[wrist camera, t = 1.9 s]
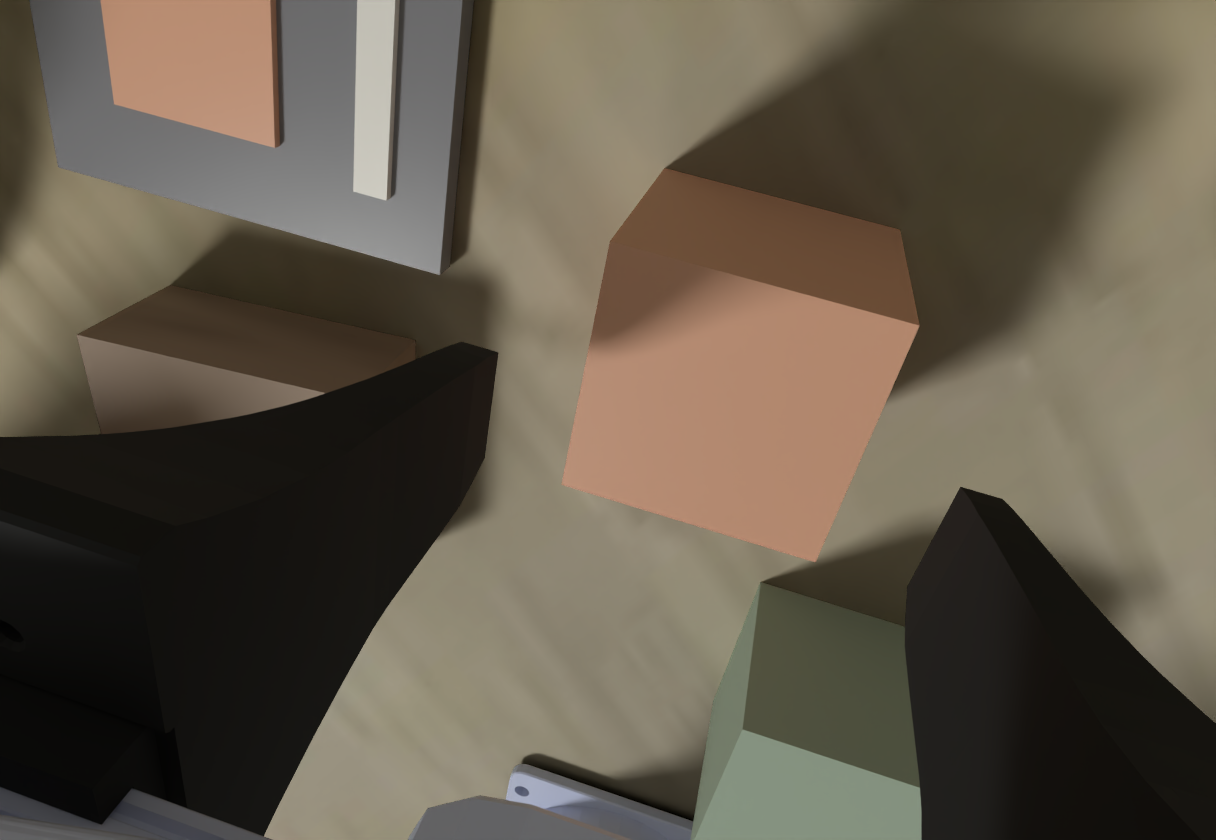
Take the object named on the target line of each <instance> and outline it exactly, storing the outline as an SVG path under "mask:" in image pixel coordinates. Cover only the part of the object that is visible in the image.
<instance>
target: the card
mask: <svg viewBox="0 0 1216 840" xmlns="http://www.w3.org/2000/svg"><path fill="white" fill-rule="evenodd" d="M29 1H30V7H31V13H32V19H33V25H34V30H35V36H36V42H37V48H38V53H39V59H40V65H41V71H42V77H43V82H44V88H45V94H46V100H47V106H48V111H49V117H50V123H51V129H52V134H53V140H54V146H55V152H56V158H57V163H58V167H59V168H63V169H66V170H70V171H74V172H77V173H81V174H84V175H88V176H91V177H95V178H98V179H102V180H105V181H109V182H112V183H116V184H119V185H123V186H127V187H130V188H134V189H137V190H141V191H144V192H148V193H151V194H155V195H158V196H162V197H165V198H169V199H173V200H176V201H180V202H183V203H187V204H190V205H194V206H197V207H201V208H204V209H208V210H211V211H215V212H218V213H222V214H226V215H229V216H233V217H236V218H240V219H243V220H247V221H250V222H254V223H257V224H261V225H264V226H268V227H271V228H275V229H279V230H282V231H286V232H289V233H293V234H296V235H300V236H303V237H307V238H310V239H314V240H317V241H321V242H325V243H328V244H332V245H335V246H339V247H342V248H346V249H349V250H353V251H356V252H360V253H363V254H367V255H370V256H374V257H378V258H381V259H385V260H388V261H392V262H395V263H399V264H402V265H406V266H409V267H413V268H416V269H420V270H423V271H427V272H431V273H434V274H438V275H440V274H441V273H443V272H444V271H445V270H446V269H447V268H449V267H450V259H451V248H452V237H453V226H454V215H455V204H456V193H457V181H458V170H459V159H460V148H461V137H462V126H463V115H464V104H465V92H466V81H467V70H468V59H469V48H470V37H471V26H472V15H473V3H474V0H29Z"/></svg>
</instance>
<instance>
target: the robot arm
mask: <svg viewBox="0 0 1216 840" xmlns="http://www.w3.org/2000/svg"><path fill="white" fill-rule="evenodd" d="M497 358H498V352H495V351H492V350H488V349H485V348H481V347H478V346H475V345H471V344H468V343H464V342H460V343H457V344H453V345H451V346H448V347H445V348H443V349H440V350H438V351H435V352H433V353H430V354H428V355H425V356H423V357H421V358H418V359H416V360H413V361H411V362H409V363H406V364H404V365H401V366H399V367H396V368H394V369H391V370H389V371H386V372H384V373H381V374H379V375H376V376H374V377H371V378H368V379H366V380H363V381H360V382H357V383H354V384H351V385H348V386H345V387H342V388H340V389H337V390H334V391H331V392H328V393H325V394H322V395H319V396H316V397H313V398H310V399H307V400H303V401H300V402H296V403H293V404H289V405H285V406H282V407H277V408H273V409H269V410H265V411H261V412H257V413H252V414H248V415H243V416H238V417H233V418H227V419H221V420H215V421H209V422H203V423H197V424H191V425H185V426H179V427H172V428H164V429H154V430H145V431H136V432H124V433H111V434H98V435H80V436H38V437H0V840H272V839H269V838H266V837H264V834H265V832H266V830H267V828H268V826H269V824H270V822H271V820H272V818H273V815H274V813H275V811H276V809H277V807H278V805H279V803H280V801H281V799H282V797H283V795H284V793H285V791H286V789H287V787H288V785H289V783H290V782H291V780H292V778H293V776H294V774H295V772H296V770H297V768H298V766H299V764H300V762H301V760H302V758H303V756H304V754H305V752H306V750H307V748H308V746H309V744H310V742H311V740H312V738H313V736H314V735H315V733H316V731H317V729H318V727H319V725H320V723H321V722H322V720H323V718H324V716H325V714H326V712H327V710H328V709H329V707H330V705H331V703H332V701H333V699H334V697H335V696H336V694H337V692H338V690H339V688H340V686H341V684H342V683H343V681H344V679H345V677H346V675H347V674H348V672H349V670H350V668H351V667H352V665H353V663H354V661H355V659H356V658H357V656H358V654H359V652H360V651H361V649H362V647H363V645H364V644H365V642H366V640H367V638H368V636H369V635H370V633H371V631H372V629H373V628H374V626H375V625H376V623H377V622H378V620H379V619H380V617H381V616H382V614H383V613H384V611H385V609H386V608H387V606H388V605H389V604H390V602H391V601H392V599H393V598H394V597H395V595H396V594H397V593H398V591H399V590H400V588H401V587H402V586H403V584H404V583H405V581H406V580H407V579H408V577H409V576H410V575H411V573H412V572H413V570H414V569H415V568H416V566H417V565H418V564H419V562H420V561H421V559H422V558H423V557H424V555H425V554H426V552H427V551H428V550H429V548H430V547H431V546H432V544H433V543H434V541H435V540H436V539H437V537H438V536H439V534H440V533H441V532H442V530H443V529H444V527H445V526H446V525H447V523H448V522H449V520H450V519H451V518H452V516H453V515H454V513H455V512H456V510H457V509H458V507H459V506H460V504H461V502H462V500H463V499H464V497H465V495H466V493H467V491H468V489H469V487H470V486H471V484H472V482H473V480H474V478H475V476H476V474H477V472H478V470H479V468H480V466H481V464H482V462H483V460H484V458H485V451H486V443H487V435H488V428H489V420H490V412H491V404H492V397H493V389H494V381H495V374H496V366H497ZM905 654H906V665H907V674H908V684H909V694H910V702H911V711H912V720H913V728H914V737H915V746H916V755H917V764H918V772H919V781H920V797H921V840H1216V723H1215V722H1213V721H1212V720H1211V719H1210V718H1209V717H1208V716H1206V715H1205V714H1204V713H1203V712H1202V711H1201V710H1200V709H1199V708H1197V707H1196V706H1195V705H1194V704H1193V703H1192V702H1191V701H1190V700H1189V699H1188V698H1187V697H1185V696H1184V695H1183V694H1182V693H1181V692H1180V691H1179V690H1178V689H1177V688H1176V687H1174V686H1173V685H1172V684H1171V683H1170V682H1169V681H1168V680H1167V679H1166V678H1165V677H1163V676H1162V675H1161V674H1160V673H1159V672H1158V671H1157V670H1156V669H1155V668H1154V667H1153V666H1152V665H1151V664H1150V663H1149V662H1148V661H1147V660H1146V659H1145V658H1144V657H1143V656H1142V655H1141V654H1140V653H1139V652H1138V651H1137V650H1136V649H1135V648H1134V647H1133V646H1132V645H1131V643H1130V642H1129V641H1128V640H1127V639H1126V638H1125V637H1124V636H1123V635H1122V634H1121V633H1120V632H1119V631H1118V630H1117V629H1116V628H1115V627H1114V626H1113V625H1112V624H1111V623H1110V621H1109V620H1108V619H1107V618H1106V617H1105V616H1104V615H1103V614H1102V613H1101V612H1100V610H1099V609H1098V608H1097V607H1096V606H1095V605H1094V604H1093V603H1092V602H1091V600H1090V599H1089V598H1088V597H1087V596H1086V595H1085V594H1084V592H1083V591H1082V590H1081V589H1080V588H1079V587H1078V585H1077V584H1076V583H1075V582H1074V581H1073V580H1072V578H1071V577H1070V576H1069V575H1068V574H1067V573H1066V571H1065V570H1064V569H1063V568H1062V567H1061V565H1060V564H1059V563H1058V562H1057V561H1056V560H1055V558H1054V557H1053V556H1052V555H1051V554H1050V552H1049V551H1048V550H1047V549H1046V548H1045V546H1044V545H1043V544H1042V543H1041V542H1040V540H1039V539H1038V538H1037V537H1036V536H1035V534H1034V533H1033V532H1032V531H1031V530H1030V528H1029V527H1028V526H1027V525H1026V524H1025V523H1024V521H1023V520H1022V519H1021V518H1020V517H1019V516H1018V515H1017V513H1016V512H1015V511H1014V510H1013V509H1012V508H1011V507H1010V506H1009V505H1008V504H1007V503H1006V502H1005V501H1004V500H1003V499H1001V498H997V497H994V496H990V495H987V494H983V493H980V492H976V491H973V490H970V489H966V488H963V487H960V489H959V491H958V493H957V494H956V496H955V498H954V500H953V502H952V504H951V506H950V508H949V509H948V511H947V513H946V515H945V517H944V519H943V521H942V523H941V525H940V526H939V528H938V530H937V532H936V534H935V536H934V538H933V540H932V541H931V543H930V545H929V547H928V549H927V551H926V553H925V555H924V556H923V558H922V560H921V562H920V564H919V566H918V568H917V570H916V571H915V573H914V575H913V577H912V579H911V581H910V583H909V585H908V586H907V599H906V617H905ZM692 827H693V821H691V820H688V819H685V818H682V817H679V816H676V815H673V814H670V813H667V812H664V811H662V810H659V809H656V808H653V807H650V806H647V805H644V804H641V803H638V802H635V801H633V800H630V799H627V798H624V797H621V796H618V795H615V794H612V793H609V792H606V791H603V790H601V789H598V788H595V787H592V786H589V785H586V784H583V783H580V782H577V781H574V780H572V779H569V778H566V777H563V776H560V775H557V774H554V773H551V772H548V771H545V770H543V769H540V768H537V767H534V766H531V765H527V764H519V765H517V766H515V767H514V769H513V771H512V774H511V777H510V781H509V786H508V791H507V796H506V800H503V799H498V798H492V797H487V796H481V795H480V796H475V797H471V798H467V799H463V800H459V801H454V802H450V803H446V804H442V805H438V806H434V807H431V808H428V809H427V810H426V812H425V813H424V815H423V816H422V818H421V819H420V821H419V822H418V824H417V825H416V827H415V828H414V830H413V831H412V833H411V834H410V836H409V838H408V840H690V839H691V833H692Z"/></svg>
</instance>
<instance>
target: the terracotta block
mask: <svg viewBox="0 0 1216 840" xmlns="http://www.w3.org/2000/svg"><path fill="white" fill-rule="evenodd" d="M919 326H920V325H919V320H918V315H917V310H916V305H915V300H914V295H913V291H912V286H911V281H910V276H909V271H908V266H907V261H906V256H905V251H904V246H903V241H902V236H901V232H900V230H899V229H896V228H892V227H888V226H884V225H880V224H877V223H873V222H869V221H865V220H861V219H857V218H854V217H850V216H846V215H842V214H838V213H835V212H831V211H827V210H823V209H819V208H816V207H812V206H808V205H804V204H800V203H796V202H793V201H789V200H785V199H781V198H777V197H774V196H770V195H766V194H762V193H758V192H754V191H751V190H747V189H743V188H739V187H735V186H732V185H728V184H724V183H720V182H716V181H712V180H709V179H705V178H701V177H697V176H693V175H690V174H686V173H682V172H678V171H674V170H670V169H667V168H664V170H663V171H662V172H661V174H660V175H659V176H658V178H657V179H656V180H655V182H654V183H653V184H652V186H651V187H650V188H649V190H648V191H647V192H646V194H645V195H644V196H643V198H642V199H641V200H640V202H639V203H638V204H637V206H636V207H635V209H634V210H633V211H632V213H631V214H630V215H629V217H628V218H627V219H626V221H625V222H624V223H623V225H622V226H621V227H620V229H619V230H618V231H617V233H616V234H615V235H614V237H613V238H612V239H611V241H610V244H609V249H608V254H607V259H606V264H605V269H604V274H603V279H602V284H601V289H600V294H599V299H598V305H597V310H596V315H595V320H594V325H593V330H592V335H591V340H590V345H589V350H588V355H587V360H586V365H585V370H584V375H583V380H582V385H581V390H580V395H579V400H578V405H577V410H576V415H575V420H574V425H573V430H572V435H571V440H570V445H569V450H568V455H567V460H566V465H565V470H564V475H563V480H562V485H564V486H567V487H571V488H574V489H577V490H580V491H584V492H587V493H590V494H594V495H597V496H600V497H603V498H607V499H610V500H613V501H616V502H620V503H623V504H626V505H629V506H633V507H636V508H639V509H643V510H646V511H649V512H652V513H656V514H659V515H662V516H665V517H669V518H672V519H675V520H679V521H682V522H685V523H688V524H692V525H695V526H698V527H701V528H705V529H708V530H711V531H714V532H718V533H721V534H724V535H728V536H731V537H734V538H737V539H741V540H744V541H747V542H750V543H754V544H757V545H760V546H764V547H767V548H770V549H773V550H777V551H780V552H783V553H786V554H790V555H793V556H796V557H799V558H803V559H806V560H809V561H813V562H816V560H817V558H818V556H819V553H820V551H821V549H822V546H823V544H824V542H825V540H826V537H827V535H828V533H829V531H830V528H831V526H832V524H833V521H834V519H835V517H836V515H837V512H838V510H839V508H840V506H841V503H842V501H843V499H844V496H845V494H846V492H847V490H848V487H849V485H850V483H851V481H852V478H853V476H854V474H855V471H856V469H857V467H858V465H859V462H860V460H861V458H862V455H863V453H864V451H865V449H866V446H867V444H868V442H869V440H870V437H871V435H872V433H873V430H874V428H875V426H876V424H877V421H878V419H879V417H880V415H881V412H882V410H883V408H884V405H885V403H886V401H887V399H888V396H889V394H890V392H891V390H892V387H893V385H894V383H895V380H896V378H897V376H898V374H899V371H900V369H901V367H902V365H903V362H904V360H905V358H906V355H907V353H908V351H909V349H910V346H911V344H912V342H913V340H914V337H915V335H916V333H917V330H918V328H919Z"/></svg>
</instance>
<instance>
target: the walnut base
mask: <svg viewBox="0 0 1216 840" xmlns="http://www.w3.org/2000/svg"><path fill="white" fill-rule="evenodd" d="M77 338H78V342H79V346H80V351H81V355H82V359H83V363H84V367H85V371H86V375H87V379H88V383H89V387H90V391H91V395H92V399H93V403H94V407H95V411H96V415H97V419H98V423H99V427H100V431H101V434H111V433H124V432H136V431H145V430H154V429H164V428H172V427H179V426H185V425H191V424H197V423H203V422H209V421H215V420H221V419H227V418H233V417H238V416H243V415H248V414H252V413H257V412H261V411H265V410H269V409H273V408H277V407H282V406H285V405H289V404H293V403H296V402H300V401H303V400H307V399H310V398H313V397H316V396H319V395H322V394H325V393H328V392H331V391H334V390H337V389H340V388H342V387H345V386H348V385H351V384H354V383H357V382H360V381H363V380H366V379H368V378H371V377H374V376H376V375H379V374H381V373H384V372H386V371H389V370H391V369H394V368H396V367H399V366H401V365H404V364H406V363H409V362H411V361H413V360H416V343H415V340H413V339H409V338H404V337H400V336H395V335H391V334H386V333H382V332H377V331H373V330H369V329H364V328H360V327H355V326H351V325H346V324H342V323H337V322H333V321H328V320H324V319H320V318H315V317H311V316H306V315H302V314H297V313H293V312H288V311H284V310H279V309H275V308H271V307H266V306H262V305H257V304H253V303H248V302H244V301H239V300H235V299H230V298H226V297H222V296H217V295H213V294H208V293H204V292H199V291H195V290H190V289H186V288H181V287H177V286H173V285H170V286H168V287H166V288H164V289H162V290H160V291H158V292H156V293H154V294H153V295H151V296H149V297H147V298H145V299H143V300H141V301H139V302H137V303H136V304H134V305H132V306H130V307H128V308H126V309H124V310H122V311H120V312H119V313H117V314H115V315H113V316H111V317H109V318H107V319H105V320H103V321H102V322H100V323H98V324H96V325H94V326H92V327H90V328H88V329H86V330H85V331H83V332H81V333H79V334H77Z"/></svg>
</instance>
